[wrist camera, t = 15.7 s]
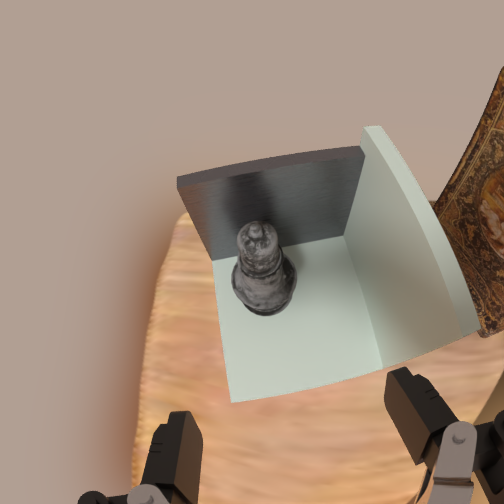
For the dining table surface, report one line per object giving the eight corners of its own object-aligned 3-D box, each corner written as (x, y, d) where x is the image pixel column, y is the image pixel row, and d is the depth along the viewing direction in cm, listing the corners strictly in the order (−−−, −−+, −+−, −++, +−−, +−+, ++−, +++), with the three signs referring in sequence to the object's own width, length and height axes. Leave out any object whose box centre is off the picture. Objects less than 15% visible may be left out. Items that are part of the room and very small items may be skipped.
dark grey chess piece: (225, 297, 29) (190, 235, 18) (260, 254, 31) (246, 176, 20) (272, 331, 27) (263, 286, 16) (307, 283, 29) (319, 214, 18)
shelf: (349, 233, 33) (380, 125, 19) (389, 366, 26) (481, 328, 12) (214, 259, 33) (168, 158, 19) (234, 402, 26) (180, 407, 12)
